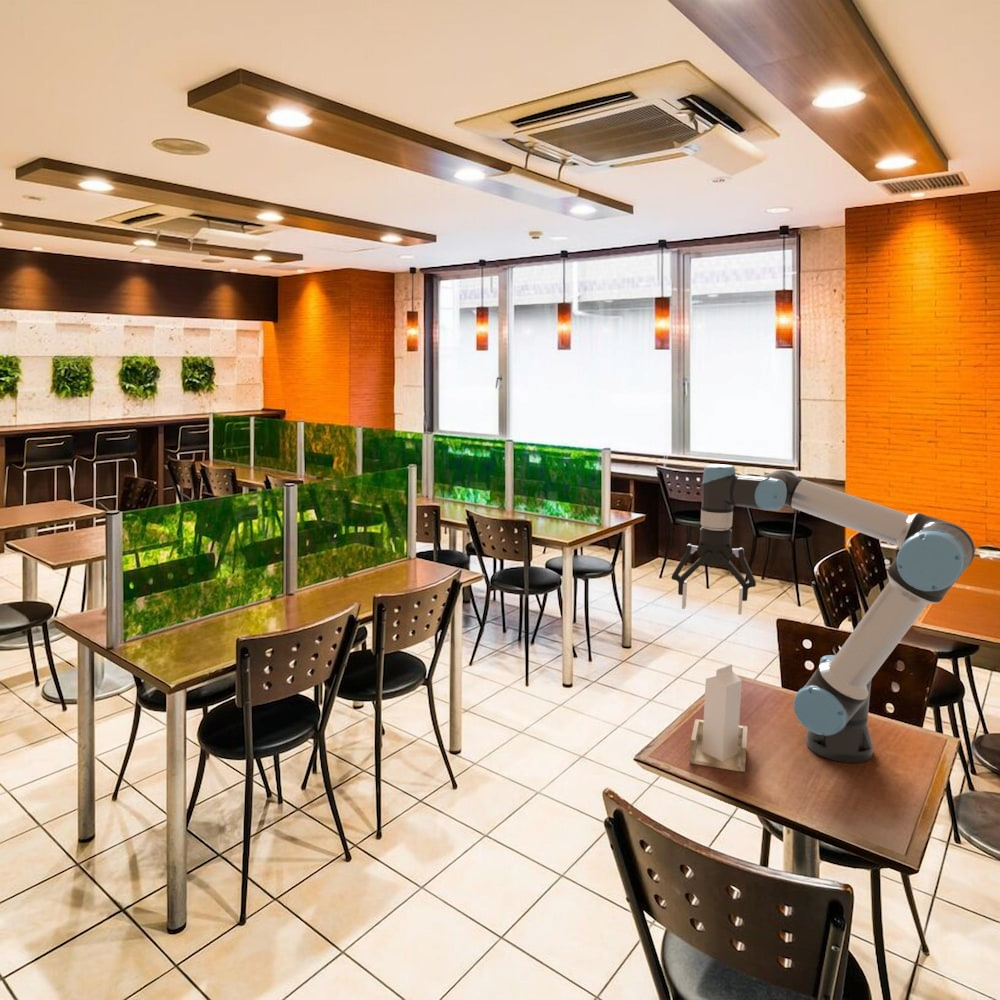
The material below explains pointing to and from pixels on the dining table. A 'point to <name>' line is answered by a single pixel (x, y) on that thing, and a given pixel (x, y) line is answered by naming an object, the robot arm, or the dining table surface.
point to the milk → (722, 714)
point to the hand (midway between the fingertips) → (711, 610)
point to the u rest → (706, 760)
